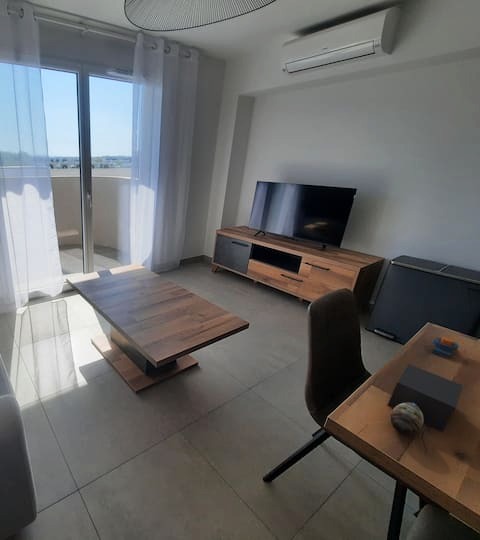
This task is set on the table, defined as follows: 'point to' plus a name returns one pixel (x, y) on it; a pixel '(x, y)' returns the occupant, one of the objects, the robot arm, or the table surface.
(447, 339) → the button
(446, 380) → the dark grey box
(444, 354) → the block
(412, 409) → the seashell
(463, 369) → the table surface
